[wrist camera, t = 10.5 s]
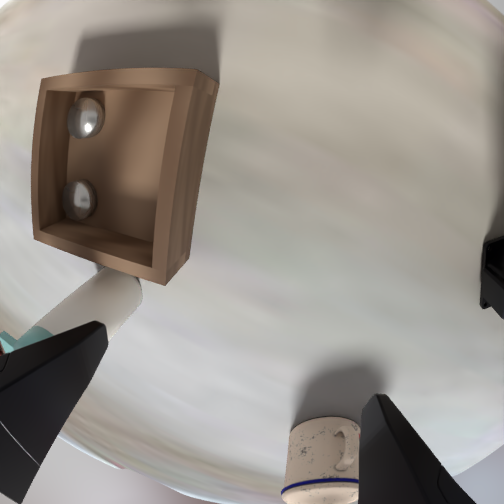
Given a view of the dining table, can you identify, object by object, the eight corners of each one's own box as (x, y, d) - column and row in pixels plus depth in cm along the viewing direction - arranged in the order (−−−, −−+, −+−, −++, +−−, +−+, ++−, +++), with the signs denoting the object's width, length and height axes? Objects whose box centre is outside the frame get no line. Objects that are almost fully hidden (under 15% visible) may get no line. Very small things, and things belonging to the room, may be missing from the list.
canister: (142, 272, 23) (52, 363, 12) (142, 316, 25) (71, 409, 14) (84, 253, 23) (-9, 319, 12) (87, 295, 25) (11, 367, 14)
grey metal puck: (89, 172, 19) (80, 175, 18) (103, 209, 20) (94, 213, 19) (66, 187, 20) (57, 190, 19) (79, 221, 21) (70, 225, 20)
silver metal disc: (100, 91, 16) (90, 89, 15) (110, 126, 17) (100, 126, 16) (73, 111, 17) (63, 111, 16) (82, 144, 18) (72, 145, 17)
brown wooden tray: (219, 84, 16) (197, 69, 12) (189, 258, 22) (165, 285, 17) (78, 82, 17) (41, 78, 13) (66, 223, 22) (33, 239, 18)
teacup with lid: (344, 451, 29) (344, 524, 19) (279, 445, 30) (268, 522, 19) (386, 401, 25) (402, 493, 14) (308, 393, 25) (303, 497, 15)
